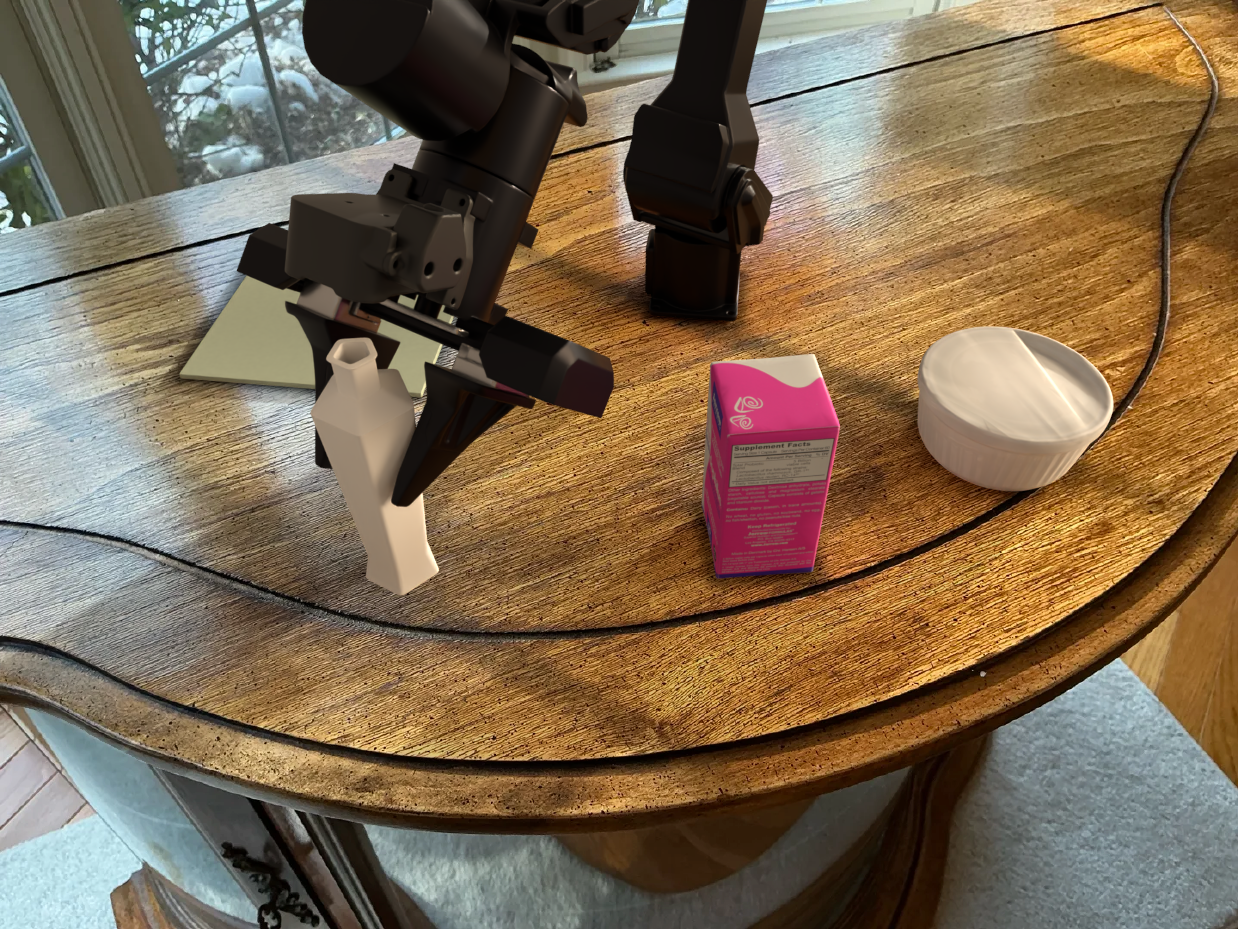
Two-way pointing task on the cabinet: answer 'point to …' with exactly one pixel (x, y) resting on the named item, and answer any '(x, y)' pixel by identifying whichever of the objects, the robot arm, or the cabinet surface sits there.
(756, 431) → the supplement box
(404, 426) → the beige vase
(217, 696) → the cabinet surface
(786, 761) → the cabinet surface
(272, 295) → the mat
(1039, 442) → the ramekin
